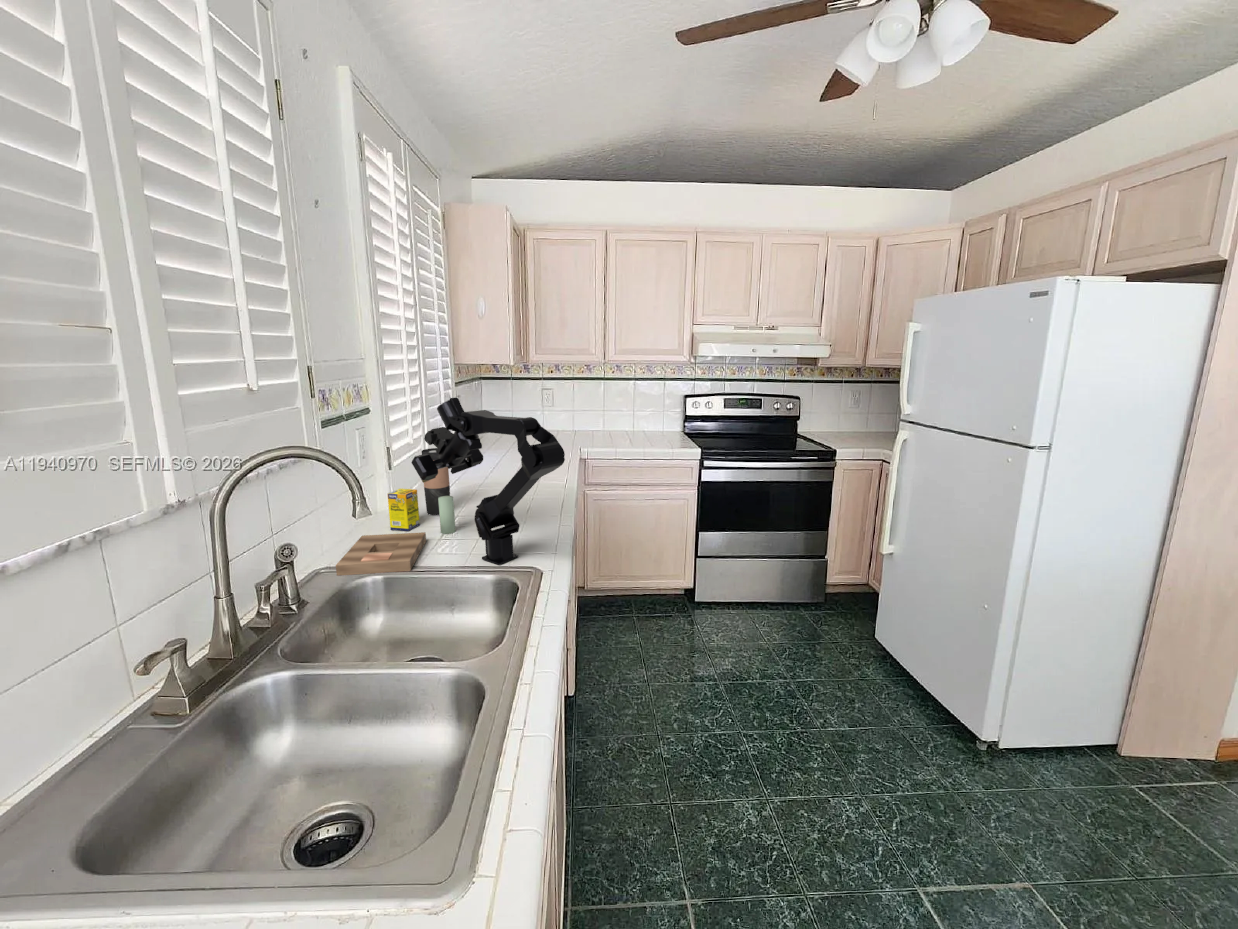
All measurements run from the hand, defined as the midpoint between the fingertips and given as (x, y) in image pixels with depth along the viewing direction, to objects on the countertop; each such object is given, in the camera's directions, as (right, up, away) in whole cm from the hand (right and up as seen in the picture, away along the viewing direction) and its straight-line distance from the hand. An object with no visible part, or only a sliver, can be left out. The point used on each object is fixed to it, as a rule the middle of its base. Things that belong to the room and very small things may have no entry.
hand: (437, 476), depth 144 cm
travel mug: (-8, -12, +24) cm, 28 cm away
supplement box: (-13, -15, +10) cm, 22 cm away
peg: (+1, -16, +6) cm, 17 cm away
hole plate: (-9, -20, -12) cm, 25 cm away
